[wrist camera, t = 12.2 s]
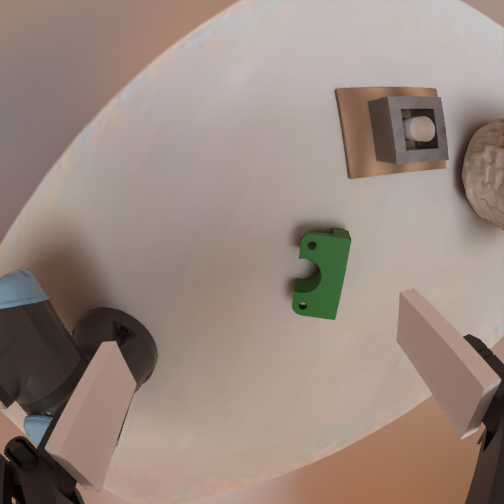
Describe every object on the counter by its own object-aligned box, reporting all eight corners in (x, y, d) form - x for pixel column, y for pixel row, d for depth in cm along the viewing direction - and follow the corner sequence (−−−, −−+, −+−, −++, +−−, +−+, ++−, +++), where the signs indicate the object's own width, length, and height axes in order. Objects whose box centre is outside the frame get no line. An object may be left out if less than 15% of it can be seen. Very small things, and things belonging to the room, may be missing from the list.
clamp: (304, 230, 46) (304, 218, 37) (343, 235, 45) (352, 225, 36) (292, 310, 45) (289, 317, 36) (331, 315, 44) (338, 324, 35)
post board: (348, 178, 39) (372, 186, 31) (334, 90, 35) (355, 78, 27) (442, 167, 38) (475, 174, 31) (432, 89, 34) (464, 83, 27)
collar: (376, 160, 37) (397, 164, 32) (367, 101, 35) (387, 96, 29) (424, 156, 37) (448, 159, 31) (416, 101, 34) (440, 97, 29)
